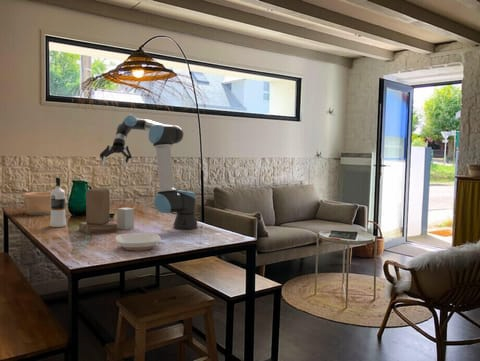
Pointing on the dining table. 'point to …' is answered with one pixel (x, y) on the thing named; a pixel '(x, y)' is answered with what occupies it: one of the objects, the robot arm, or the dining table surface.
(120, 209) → the white canister
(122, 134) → the robot arm
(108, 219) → the block
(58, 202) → the vodka
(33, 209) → the pottery
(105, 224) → the plinth
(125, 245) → the bowl
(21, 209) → the dining table surface
